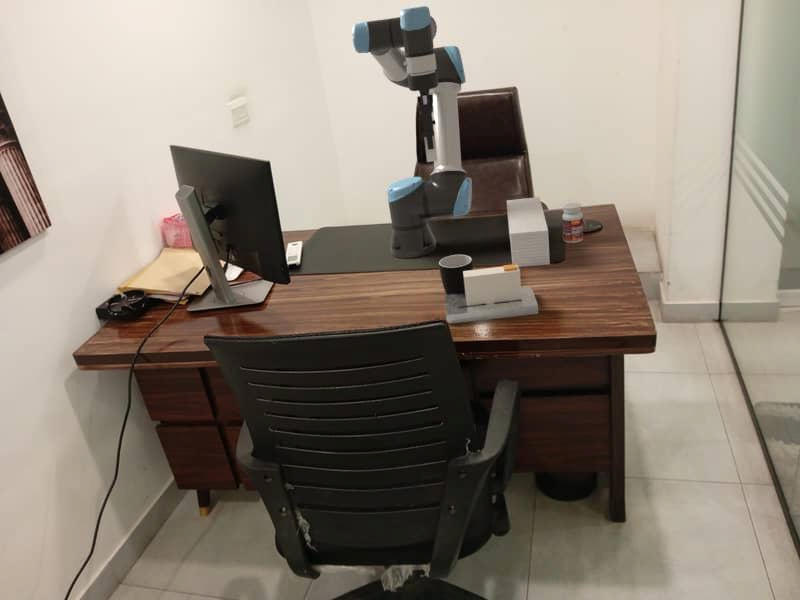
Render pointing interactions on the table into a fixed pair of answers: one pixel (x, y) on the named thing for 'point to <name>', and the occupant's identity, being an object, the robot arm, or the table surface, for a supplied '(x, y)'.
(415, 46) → the robot arm
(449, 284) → the mug
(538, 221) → the stack of papers
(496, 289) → the white block
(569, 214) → the pill bottle
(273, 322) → the table surface
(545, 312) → the table surface
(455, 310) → the rail
